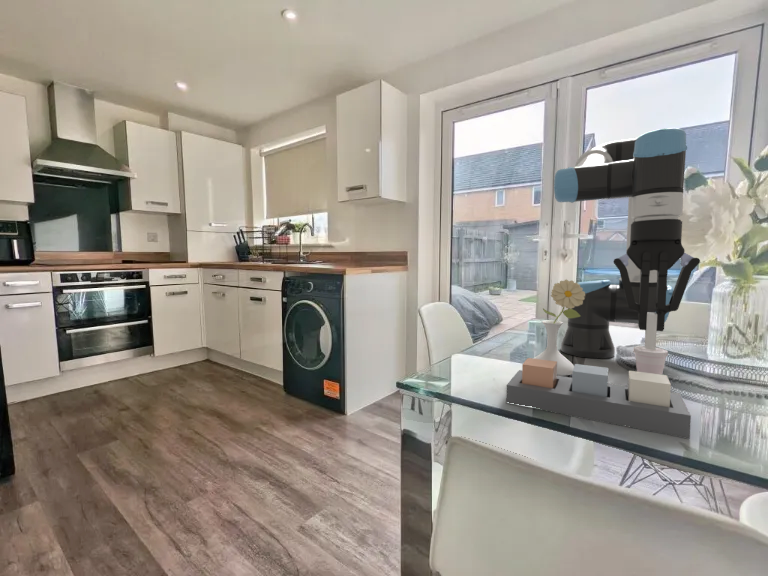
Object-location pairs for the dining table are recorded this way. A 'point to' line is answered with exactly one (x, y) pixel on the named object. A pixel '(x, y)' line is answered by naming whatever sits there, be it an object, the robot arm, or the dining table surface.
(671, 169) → the robot arm
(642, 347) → the smoothie
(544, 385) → the key terracotta
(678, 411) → the console
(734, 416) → the dining table surface
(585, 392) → the key slate
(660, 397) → the key cream
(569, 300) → the flower in vase
